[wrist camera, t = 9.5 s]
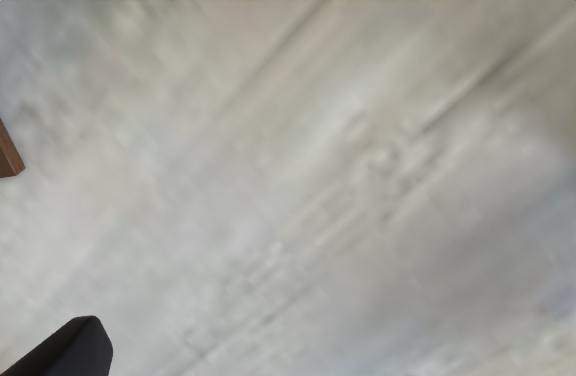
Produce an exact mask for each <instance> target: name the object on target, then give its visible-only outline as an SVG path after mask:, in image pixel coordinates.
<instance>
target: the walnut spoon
mask: <svg viewBox="0 0 576 376" xmlns="http://www.w3.org/2000/svg"><path fill="white" fill-rule="evenodd" d="M24 169H25V166H24V164H23V162H22V160H21V158H20V156H19V154H18V152H17V150H16V148H15V146H14V144H13V143H12V141H11V139H10V137H9V135H8V133H7V131H6V129H5V127H4V125H3V123H2V121H1V119H0V178H5V177H11V176H16V175H18V174H19V173H20V172H21V171H22V170H24Z"/></svg>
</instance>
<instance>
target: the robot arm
mask: <svg viewBox="0 0 576 376" xmlns="http://www.w3.org/2000/svg"><path fill="white" fill-rule="evenodd" d="M112 357H113V347H112V344H111V341H110V339H109V337H108V335H107V333H106V331H105V329H104V327H103V325H102V323H101V321H100V320H99V318H97V317H96V316H82V317H76V318H73V319H72V320H70V321H69V322H68V323H66V324H65V325H64V326H62V327H61V328H60V329H59V330H57V331H56V332H55V333H53V334H52V335H51V336H50V337H48V338H47V339H46V340H44V341H43V342H42V343H41V344H39V345H38V346H37V347H35V348H34V349H33V350H32V351H30V352H29V353H28V354H26V355H25V356H24V357H23V358H21V359H20V360H19V361H17V362H16V363H15V364H13V365H12V366H11V367H10V368H8V369H7V370H6V371H4V372H3V373H2V374H1V375H0V376H108V374H109V370H110V366H111V362H112Z"/></svg>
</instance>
